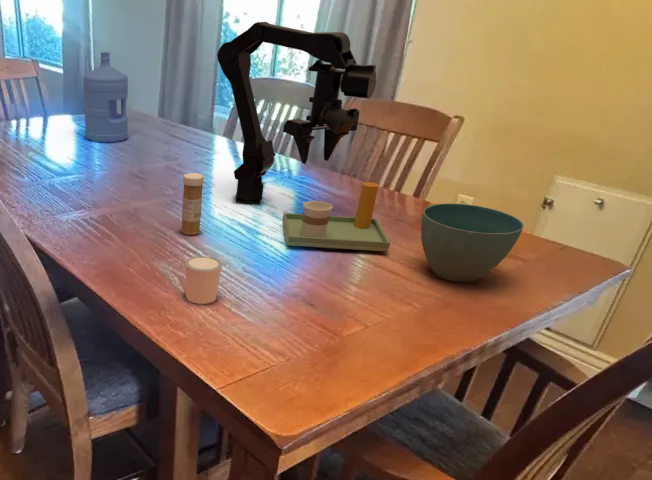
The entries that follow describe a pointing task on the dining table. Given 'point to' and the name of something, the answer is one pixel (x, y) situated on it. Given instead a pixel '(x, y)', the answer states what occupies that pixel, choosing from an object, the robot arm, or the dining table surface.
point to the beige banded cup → (315, 219)
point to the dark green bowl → (466, 239)
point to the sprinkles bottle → (192, 203)
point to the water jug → (105, 103)
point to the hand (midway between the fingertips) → (315, 161)
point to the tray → (344, 227)
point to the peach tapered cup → (202, 279)
